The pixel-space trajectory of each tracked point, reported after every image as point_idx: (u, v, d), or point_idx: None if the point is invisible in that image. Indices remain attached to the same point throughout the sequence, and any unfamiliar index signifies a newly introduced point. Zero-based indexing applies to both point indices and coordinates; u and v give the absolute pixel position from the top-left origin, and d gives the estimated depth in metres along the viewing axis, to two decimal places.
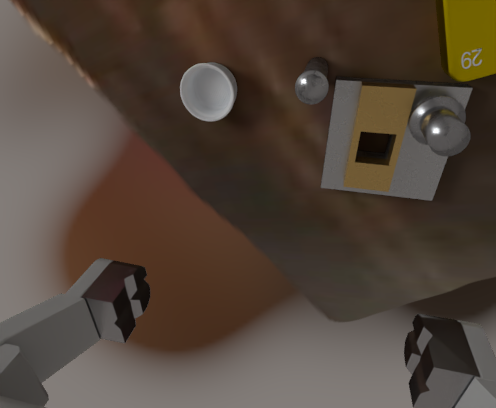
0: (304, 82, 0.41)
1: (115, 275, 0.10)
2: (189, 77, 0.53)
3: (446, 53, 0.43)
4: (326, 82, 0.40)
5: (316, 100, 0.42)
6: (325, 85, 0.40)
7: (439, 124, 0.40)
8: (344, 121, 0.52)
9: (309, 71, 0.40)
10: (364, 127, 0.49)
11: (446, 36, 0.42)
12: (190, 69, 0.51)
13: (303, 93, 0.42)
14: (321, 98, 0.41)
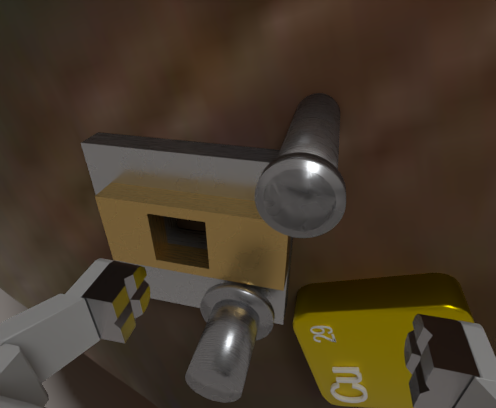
0: (314, 184, 0.14)
1: (115, 275, 0.10)
2: None
3: (331, 308, 0.30)
4: (311, 234, 0.16)
5: (264, 211, 0.16)
6: (303, 232, 0.16)
7: (234, 375, 0.24)
8: (219, 181, 0.27)
9: (343, 197, 0.14)
10: (213, 227, 0.26)
11: (356, 311, 0.29)
12: None
13: (283, 181, 0.14)
14: (270, 222, 0.16)
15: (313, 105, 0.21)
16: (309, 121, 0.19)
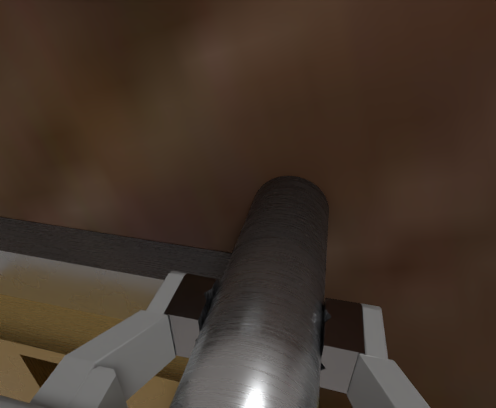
0: None
1: (193, 289, 0.09)
2: None
3: None
4: None
5: None
6: None
7: None
8: (134, 305, 0.17)
9: None
10: None
11: None
12: None
13: None
14: None
15: (277, 215, 0.11)
16: (257, 286, 0.09)
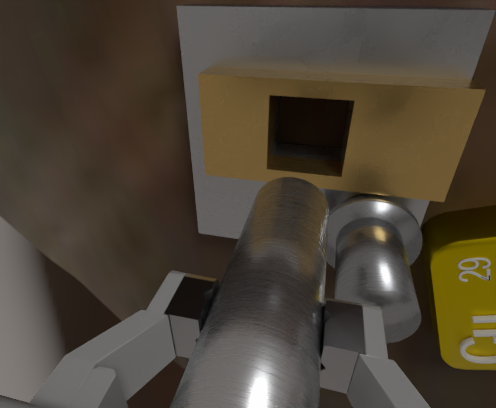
0: None
1: (193, 289, 0.09)
2: None
3: (493, 233, 0.23)
4: None
5: None
6: None
7: (414, 299, 0.17)
8: (368, 50, 0.20)
9: None
10: (365, 108, 0.20)
11: None
12: None
13: None
14: None
15: (277, 215, 0.11)
16: (258, 286, 0.09)
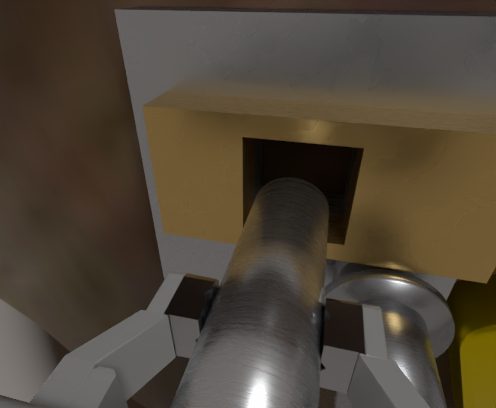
0: None
1: (193, 289, 0.09)
2: None
3: None
4: None
5: None
6: None
7: None
8: (384, 73, 0.14)
9: None
10: (379, 158, 0.14)
11: None
12: None
13: None
14: None
15: (277, 215, 0.11)
16: (257, 286, 0.09)
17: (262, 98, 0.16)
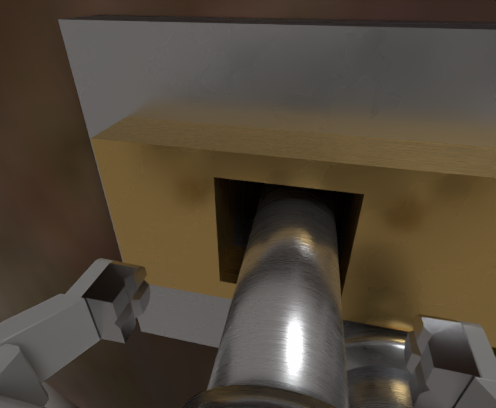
0: None
1: (115, 275, 0.10)
2: None
3: None
4: None
5: None
6: None
7: None
8: (388, 99, 0.11)
9: None
10: (383, 207, 0.11)
11: None
12: None
13: None
14: None
15: None
16: (286, 231, 0.10)
17: (240, 126, 0.13)
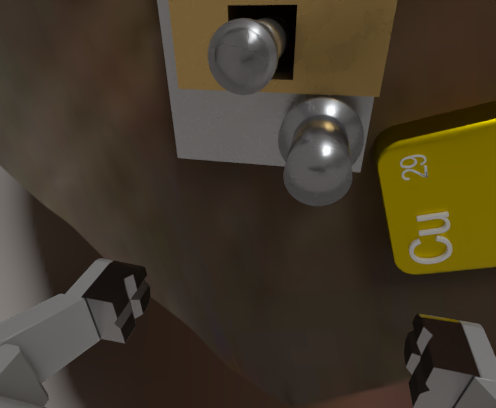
0: (251, 40, 0.18)
1: (115, 275, 0.10)
2: None
3: (427, 132, 0.27)
4: (254, 90, 0.20)
5: (216, 72, 0.20)
6: (248, 88, 0.20)
7: (345, 155, 0.21)
8: None
9: (274, 50, 0.19)
10: (306, 11, 0.23)
11: (458, 128, 0.26)
12: None
13: (228, 41, 0.19)
14: (222, 82, 0.20)
15: (265, 17, 0.26)
16: (257, 20, 0.23)
17: None
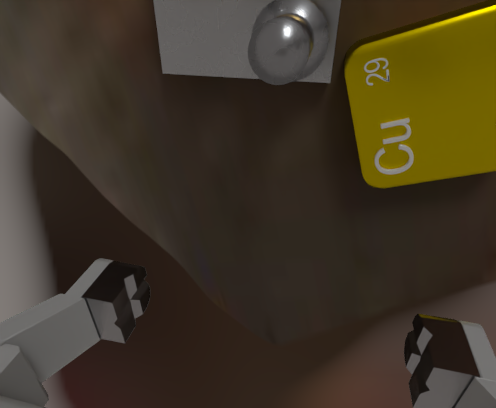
0: None
1: (115, 275, 0.10)
2: None
3: (389, 36, 0.30)
4: None
5: None
6: None
7: (302, 30, 0.23)
8: None
9: None
10: None
11: (416, 29, 0.29)
12: None
13: None
14: None
15: None
16: None
17: None
